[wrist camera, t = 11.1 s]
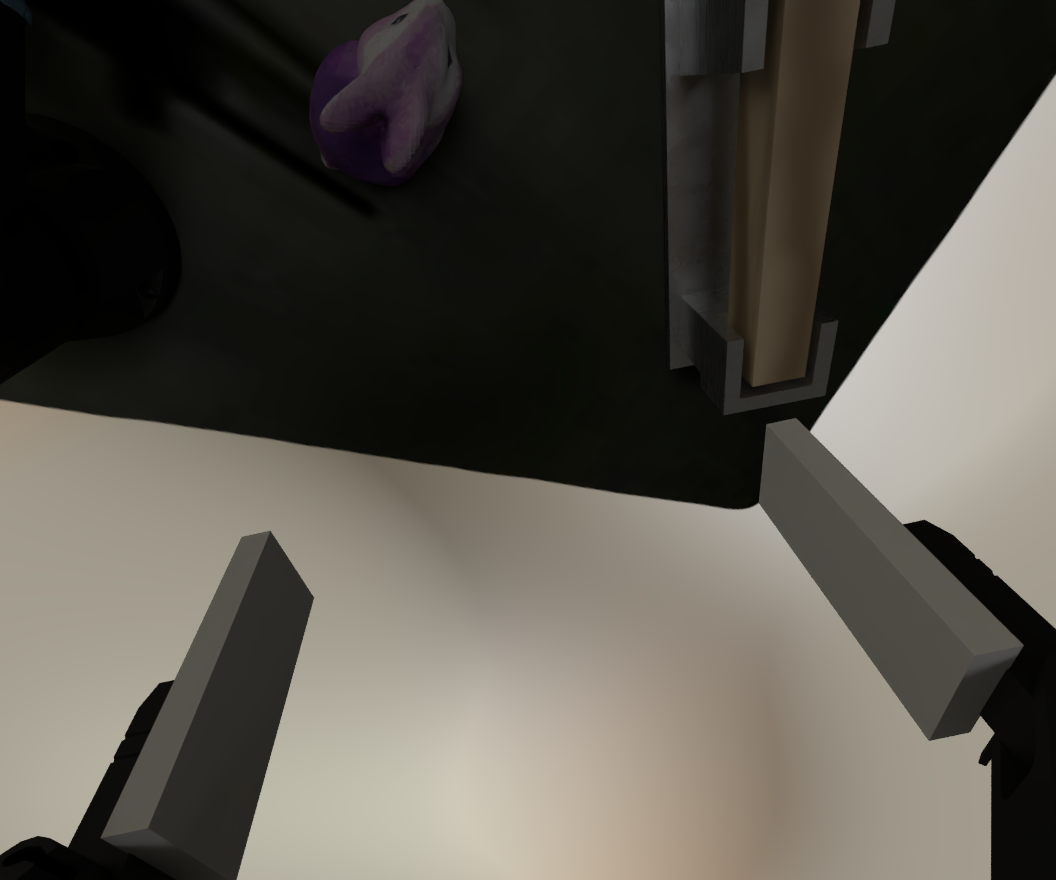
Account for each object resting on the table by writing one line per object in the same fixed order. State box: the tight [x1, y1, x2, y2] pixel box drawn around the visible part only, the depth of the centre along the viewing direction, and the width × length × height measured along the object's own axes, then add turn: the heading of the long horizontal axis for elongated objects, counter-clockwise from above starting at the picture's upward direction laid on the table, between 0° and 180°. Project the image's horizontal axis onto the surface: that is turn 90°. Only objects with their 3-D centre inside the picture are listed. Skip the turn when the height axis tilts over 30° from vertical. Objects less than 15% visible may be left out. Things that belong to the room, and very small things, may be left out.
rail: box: [727, 0, 860, 387], centre depth 35 cm, size 4×24×5 cm, turn 10°
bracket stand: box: [660, 0, 895, 415], centre depth 38 cm, size 10×30×11 cm, turn 10°
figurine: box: [310, 0, 463, 186], centre depth 31 cm, size 9×10×15 cm
